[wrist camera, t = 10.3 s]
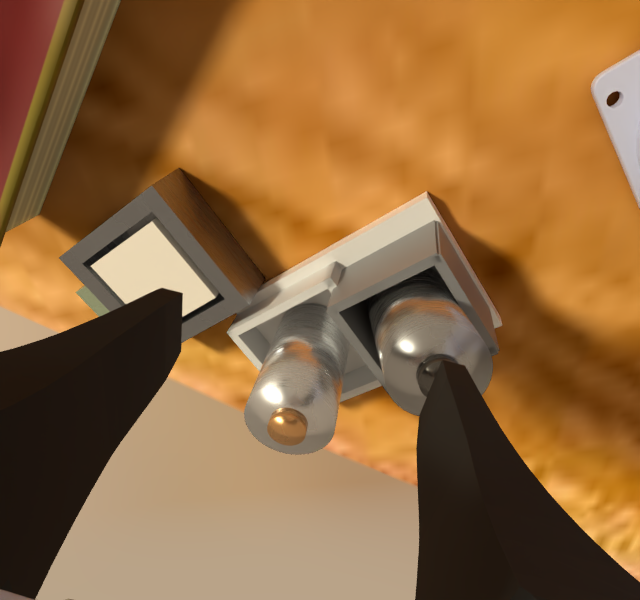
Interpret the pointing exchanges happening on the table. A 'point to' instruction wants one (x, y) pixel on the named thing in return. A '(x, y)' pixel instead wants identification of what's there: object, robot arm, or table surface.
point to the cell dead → (423, 338)
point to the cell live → (299, 383)
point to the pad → (154, 268)
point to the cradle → (192, 235)
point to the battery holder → (367, 287)
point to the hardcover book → (42, 92)
